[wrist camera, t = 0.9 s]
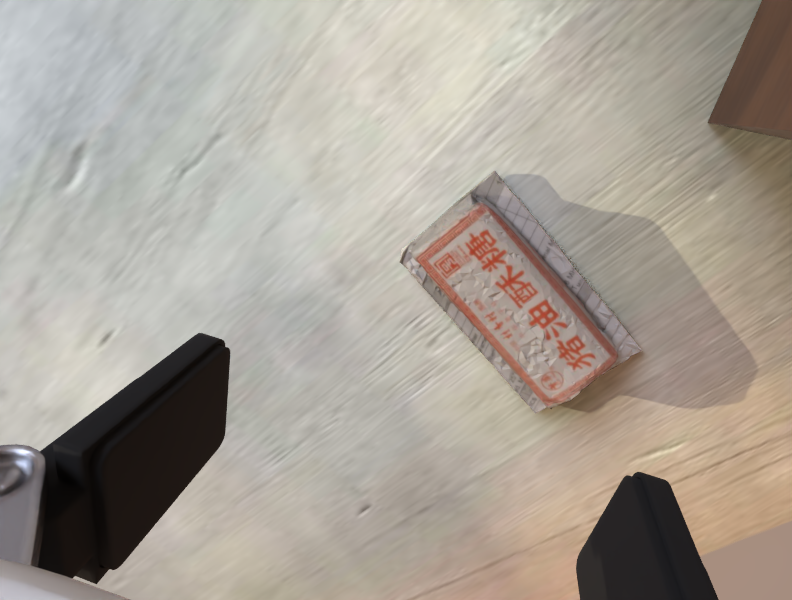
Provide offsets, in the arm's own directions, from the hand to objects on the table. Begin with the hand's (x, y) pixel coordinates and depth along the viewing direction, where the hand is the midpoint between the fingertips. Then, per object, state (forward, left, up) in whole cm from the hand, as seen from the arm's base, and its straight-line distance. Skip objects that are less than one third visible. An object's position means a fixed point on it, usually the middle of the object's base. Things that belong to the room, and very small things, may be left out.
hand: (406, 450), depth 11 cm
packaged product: (+6, +5, -28) cm, 29 cm away
